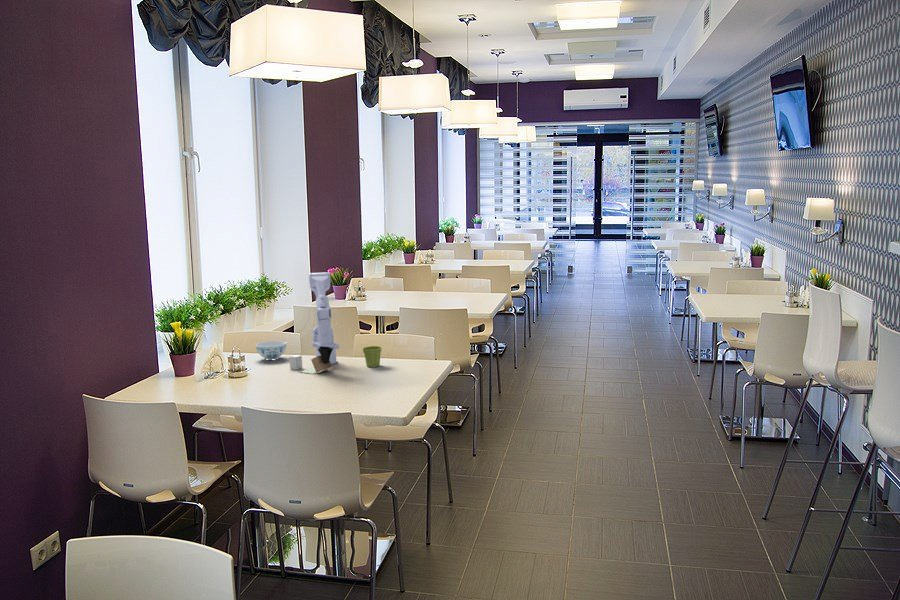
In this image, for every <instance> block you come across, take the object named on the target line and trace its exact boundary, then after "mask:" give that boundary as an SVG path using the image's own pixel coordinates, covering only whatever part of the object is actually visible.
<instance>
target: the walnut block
mask: <svg viewBox="0 0 900 600" xmlns="http://www.w3.org/2000/svg"><path fill="white" fill-rule="evenodd" d="M310 361H311V362H312V365H313V368H315V371H316V374H319V373H323V371H324V372H326V370H327V371H329V370H331V369H332V368H333V364H331V362H330V360H329V363H327V364H324V362H323V359H322V356H321V355H320V356H317V357H316V356H315V357H313V358H311V359H310Z"/></svg>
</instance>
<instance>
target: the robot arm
mask: <svg viewBox="0 0 900 600" xmlns="http://www.w3.org/2000/svg"><path fill="white" fill-rule="evenodd" d="M330 273H331V272H329V271H326V272H309V274H308V280H309V281H308V283H309V289H310V291H312V292H314V295H315V305H316V311H315V312H316V314H315V317H316V320H317V321H316V323H317V325H316V326H315V327H314V328H313V329H312V334H311V335H312V336H311V337H312V342H311V346H312V347H313V348H315V357H317V356H320V355H321V356H322V359H323V362H324V364H327V363H329V360H330V362H331V365H333V364H337V363H339V362H338V361H337V350H338V349H340V344H338V343H335V341H334V337H335V336H334V330H333V328H332V325H331V323H332V322H331V320H332V310H331V306H330V303H329V302H330V300H329V297H328V296H327V295H326V292H327V291H329V290H330V288H331V274H330Z"/></svg>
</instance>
